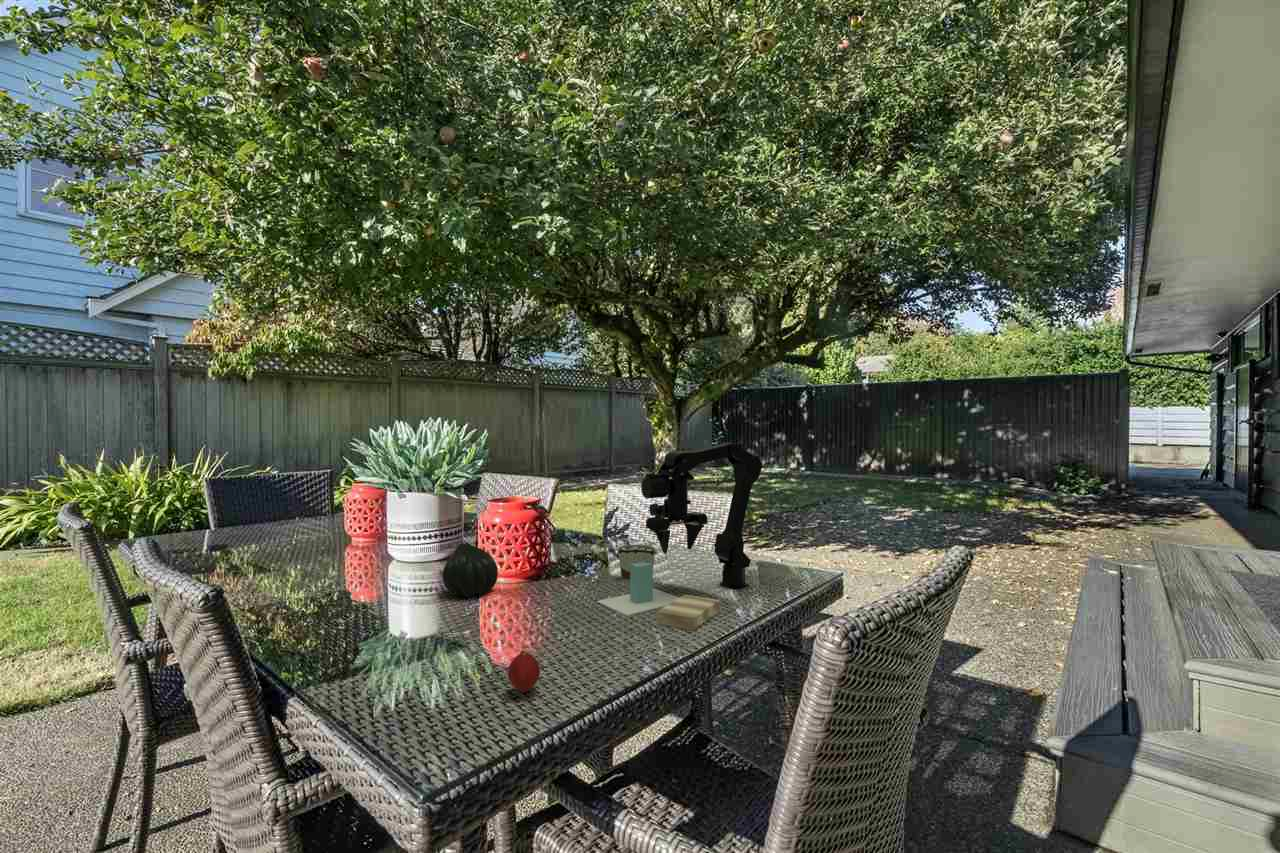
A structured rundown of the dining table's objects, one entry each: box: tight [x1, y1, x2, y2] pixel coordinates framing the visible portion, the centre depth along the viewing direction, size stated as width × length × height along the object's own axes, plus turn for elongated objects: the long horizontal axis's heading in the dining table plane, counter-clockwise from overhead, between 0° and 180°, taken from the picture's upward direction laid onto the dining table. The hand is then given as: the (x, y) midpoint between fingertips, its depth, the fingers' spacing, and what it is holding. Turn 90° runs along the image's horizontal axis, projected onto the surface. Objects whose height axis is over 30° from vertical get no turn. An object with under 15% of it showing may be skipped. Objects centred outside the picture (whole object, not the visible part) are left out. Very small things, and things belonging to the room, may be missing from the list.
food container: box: [616, 544, 657, 581], centre depth 190 cm, size 12×6×10 cm, turn 84°
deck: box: [656, 594, 720, 632], centre depth 154 cm, size 16×10×3 cm, turn 151°
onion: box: [507, 649, 541, 693], centre depth 113 cm, size 6×6×8 cm
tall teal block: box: [629, 562, 654, 604], centre depth 166 cm, size 5×4×10 cm
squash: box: [442, 542, 499, 598], centre depth 174 cm, size 14×15×15 cm
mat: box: [596, 588, 680, 617], centre depth 166 cm, size 20×14×1 cm
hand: (677, 551), depth 172 cm, fingers open, 9 cm apart
